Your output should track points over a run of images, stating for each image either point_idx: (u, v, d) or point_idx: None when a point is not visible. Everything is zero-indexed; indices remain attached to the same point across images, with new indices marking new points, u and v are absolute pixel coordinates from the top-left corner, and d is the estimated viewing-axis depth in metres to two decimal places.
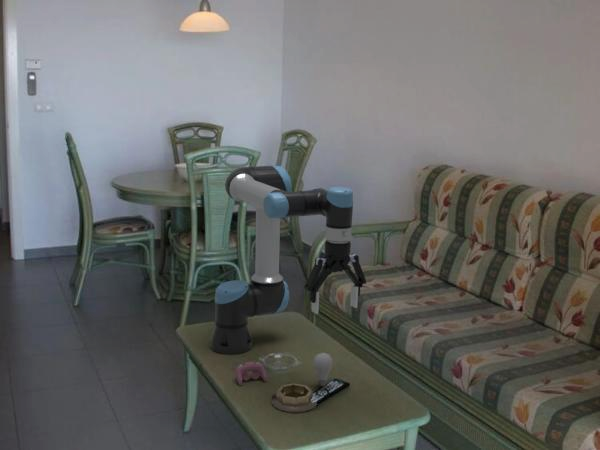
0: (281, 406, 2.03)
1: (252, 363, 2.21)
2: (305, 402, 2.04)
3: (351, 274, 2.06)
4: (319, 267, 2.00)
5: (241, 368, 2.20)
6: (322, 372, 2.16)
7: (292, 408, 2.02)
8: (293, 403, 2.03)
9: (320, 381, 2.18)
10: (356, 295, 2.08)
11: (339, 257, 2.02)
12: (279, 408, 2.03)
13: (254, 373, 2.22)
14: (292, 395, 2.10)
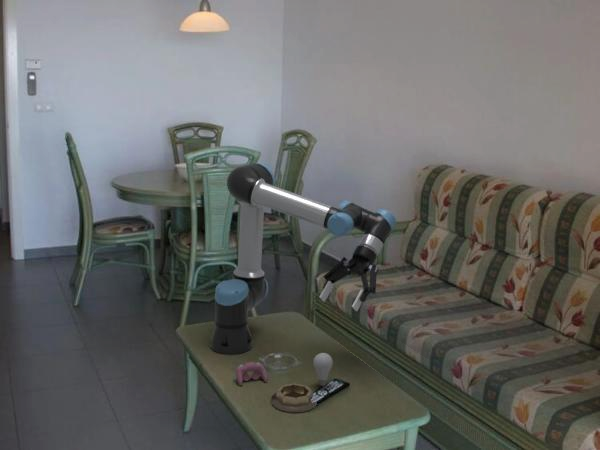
0: (281, 406, 2.03)
1: (252, 363, 2.21)
2: (305, 402, 2.04)
3: None
4: None
5: (241, 368, 2.20)
6: (322, 372, 2.16)
7: (292, 408, 2.02)
8: (293, 403, 2.03)
9: (320, 381, 2.18)
10: None
11: None
12: (279, 408, 2.03)
13: (254, 373, 2.22)
14: (292, 395, 2.10)
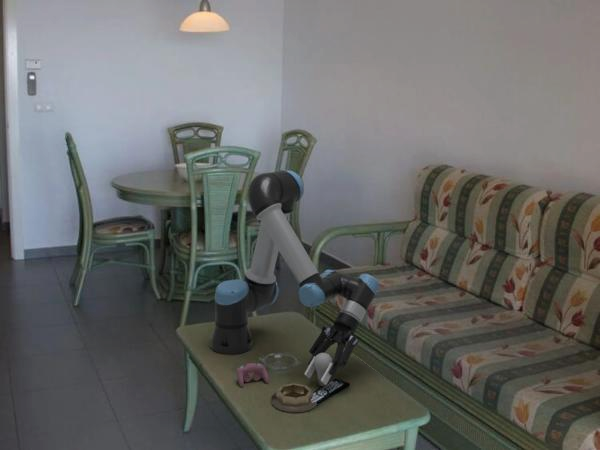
0: (281, 406, 2.03)
1: (253, 364, 2.20)
2: (305, 402, 2.04)
3: None
4: None
5: (242, 369, 2.19)
6: (322, 372, 2.16)
7: (292, 408, 2.02)
8: (293, 403, 2.03)
9: (320, 381, 2.18)
10: None
11: None
12: (279, 408, 2.03)
13: (255, 374, 2.21)
14: (292, 395, 2.10)
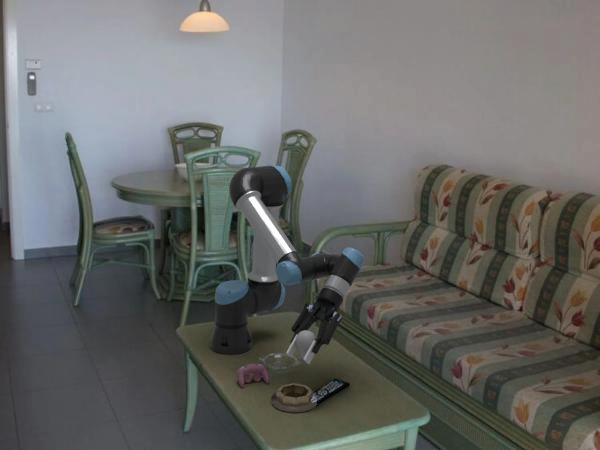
0: (281, 406, 2.03)
1: (254, 365, 2.20)
2: (305, 402, 2.04)
3: None
4: None
5: (243, 370, 2.18)
6: (305, 350, 2.05)
7: (292, 408, 2.02)
8: (293, 403, 2.03)
9: (303, 360, 2.07)
10: None
11: None
12: (279, 408, 2.03)
13: (256, 375, 2.21)
14: (292, 395, 2.10)
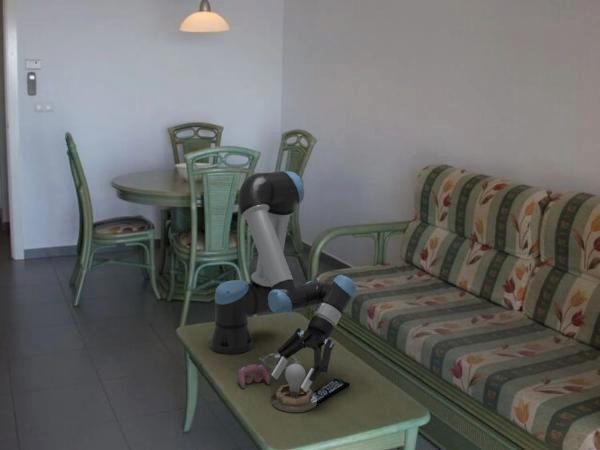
0: (281, 406, 2.03)
1: (255, 366, 2.19)
2: (305, 402, 2.04)
3: None
4: None
5: (244, 371, 2.18)
6: (294, 384, 2.05)
7: (292, 408, 2.02)
8: (293, 403, 2.03)
9: (292, 394, 2.07)
10: None
11: None
12: (279, 408, 2.03)
13: (257, 376, 2.20)
14: None
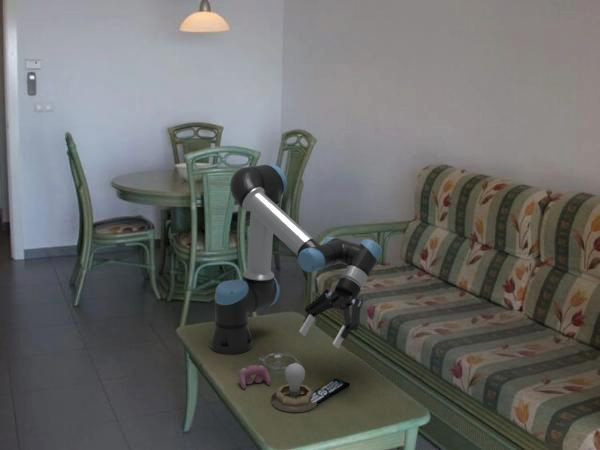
0: (281, 406, 2.03)
1: (255, 366, 2.19)
2: (305, 402, 2.04)
3: None
4: None
5: (244, 371, 2.17)
6: (294, 383, 2.05)
7: (292, 408, 2.02)
8: (293, 403, 2.03)
9: (292, 393, 2.07)
10: None
11: None
12: (279, 408, 2.03)
13: (257, 376, 2.20)
14: None
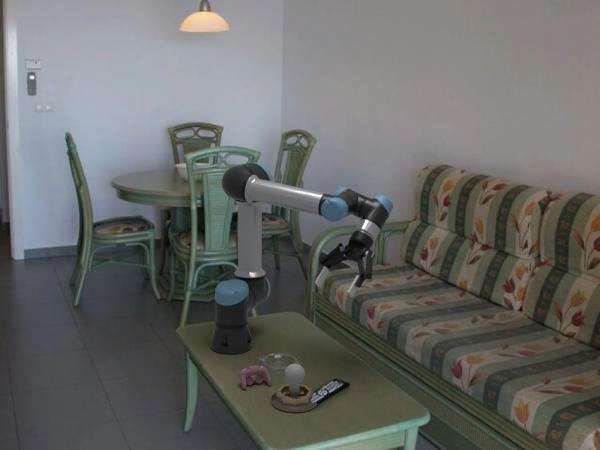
0: (281, 406, 2.03)
1: (256, 367, 2.19)
2: (305, 402, 2.04)
3: None
4: None
5: (245, 372, 2.17)
6: (293, 384, 2.05)
7: (292, 408, 2.02)
8: (293, 403, 2.03)
9: (291, 394, 2.07)
10: None
11: None
12: (279, 408, 2.03)
13: (258, 377, 2.19)
14: None
